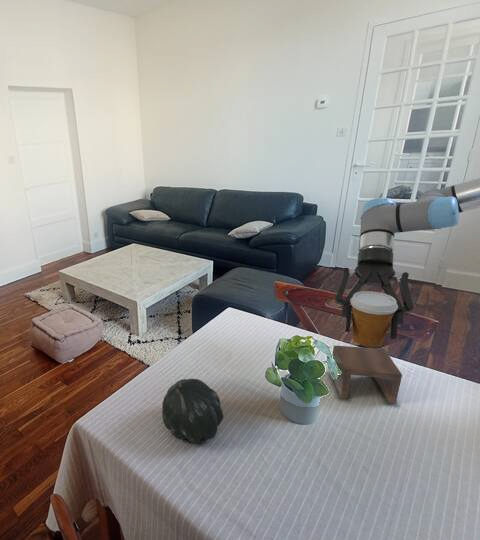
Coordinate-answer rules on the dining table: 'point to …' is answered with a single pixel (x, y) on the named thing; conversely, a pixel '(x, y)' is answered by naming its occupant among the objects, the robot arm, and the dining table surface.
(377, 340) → the disposable coffee cup
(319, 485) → the dining table surface
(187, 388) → the squash
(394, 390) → the shelf
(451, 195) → the robot arm
